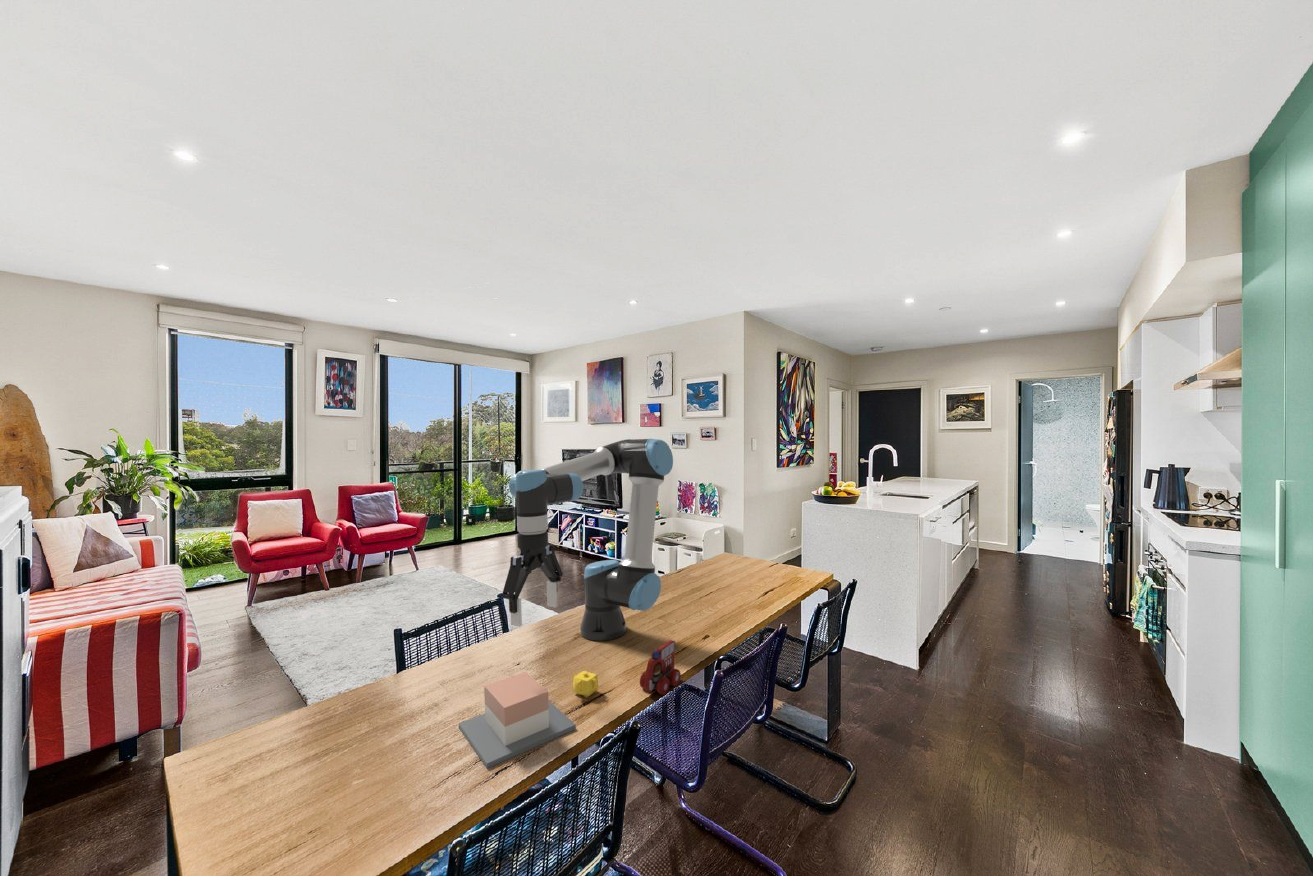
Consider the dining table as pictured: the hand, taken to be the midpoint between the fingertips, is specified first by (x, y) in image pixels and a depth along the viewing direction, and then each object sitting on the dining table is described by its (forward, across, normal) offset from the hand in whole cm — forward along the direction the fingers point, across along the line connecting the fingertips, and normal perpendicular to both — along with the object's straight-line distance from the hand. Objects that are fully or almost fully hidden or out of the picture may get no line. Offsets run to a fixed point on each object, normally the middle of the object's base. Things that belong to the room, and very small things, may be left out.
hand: (535, 615), depth 125 cm
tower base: (+20, +13, +5) cm, 25 cm away
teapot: (+21, -6, +10) cm, 24 cm away
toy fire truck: (+21, -17, +26) cm, 38 cm away
